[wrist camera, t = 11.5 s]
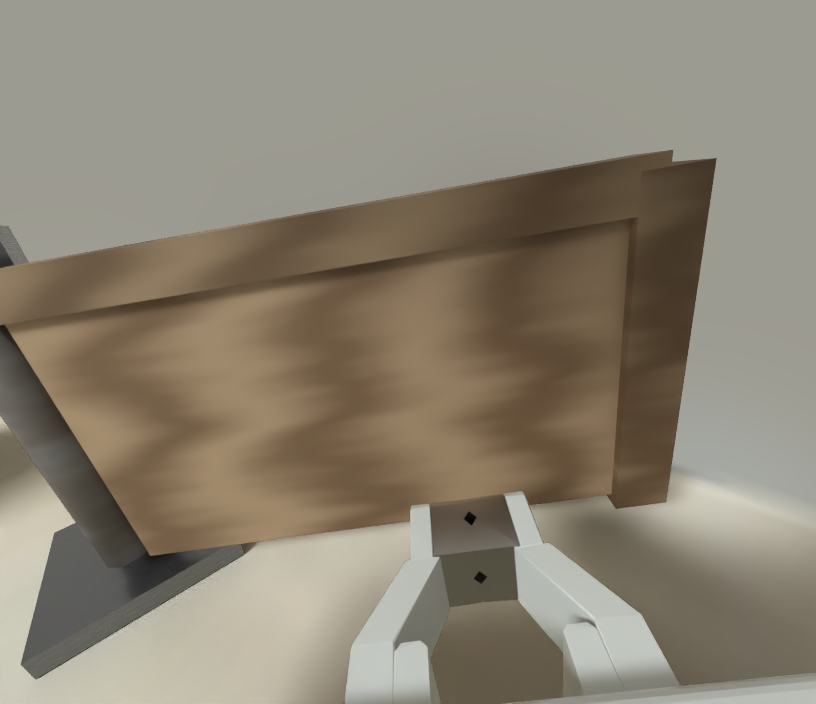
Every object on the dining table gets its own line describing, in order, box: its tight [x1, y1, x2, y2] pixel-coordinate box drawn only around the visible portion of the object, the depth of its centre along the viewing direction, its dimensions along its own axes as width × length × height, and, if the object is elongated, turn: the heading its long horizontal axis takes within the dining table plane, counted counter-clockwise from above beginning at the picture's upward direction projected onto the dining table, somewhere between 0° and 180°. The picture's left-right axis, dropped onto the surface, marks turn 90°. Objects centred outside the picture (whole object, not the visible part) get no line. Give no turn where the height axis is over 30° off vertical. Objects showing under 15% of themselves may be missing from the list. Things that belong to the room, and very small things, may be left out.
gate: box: [0, 150, 716, 568], centre depth 14 cm, size 24×2×13 cm, turn 91°
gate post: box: [0, 226, 245, 679], centre depth 17 cm, size 8×8×16 cm
